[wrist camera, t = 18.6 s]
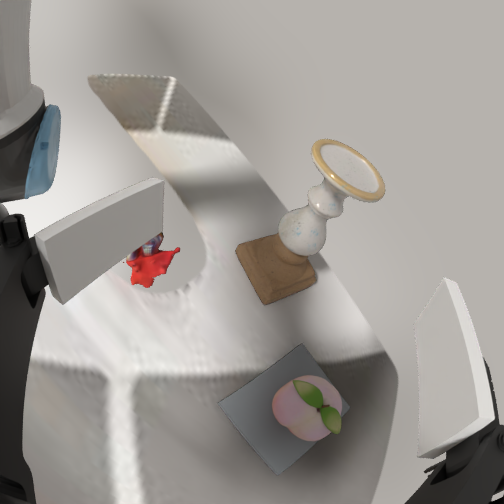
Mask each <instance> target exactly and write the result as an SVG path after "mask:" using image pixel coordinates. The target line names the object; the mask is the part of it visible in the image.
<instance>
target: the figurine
mask: <svg viewBox="0 0 504 504" xmlns="http://www.w3.org/2000/svg"><path fill="white" fill-rule="evenodd" d="M163 237H164V236H163V233H162V232H161V233H159V234H158V235H156V236H155V237H154V238H152V239H151V240H149V241H148V242H146V243H145V244H143V245H142V246H141V247H139V248H138V249H136V250H135V251H133V252H132V253H131V254H129V255H128V256H126V257H127V260H126V263H127V264H128V265H129V266H130V267H132V276H131V283H132V285H134V284H140V285H143V286H144V287H146V288H148V287H150V286H152V284H153V282H154V281H153V280H154V278H152V277H156V276H159V275H161V274H166V271H167V268H168V266H169V265H170V263H171V260H172V259H173V256H174V254H175V253H177V252H180V248H178V247H177V248H176V249H175V250H174V251H162V250H159V249H158V248H159V246H160V245H161V243H162V240H163ZM123 263H124V262H123Z"/></svg>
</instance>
